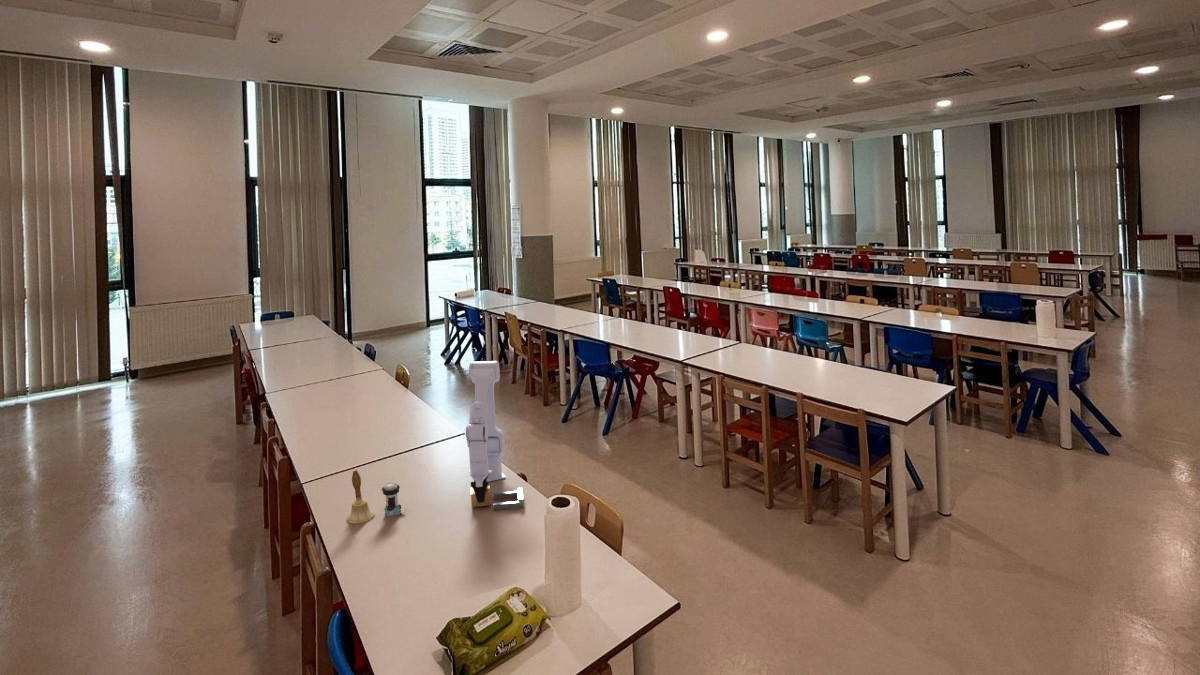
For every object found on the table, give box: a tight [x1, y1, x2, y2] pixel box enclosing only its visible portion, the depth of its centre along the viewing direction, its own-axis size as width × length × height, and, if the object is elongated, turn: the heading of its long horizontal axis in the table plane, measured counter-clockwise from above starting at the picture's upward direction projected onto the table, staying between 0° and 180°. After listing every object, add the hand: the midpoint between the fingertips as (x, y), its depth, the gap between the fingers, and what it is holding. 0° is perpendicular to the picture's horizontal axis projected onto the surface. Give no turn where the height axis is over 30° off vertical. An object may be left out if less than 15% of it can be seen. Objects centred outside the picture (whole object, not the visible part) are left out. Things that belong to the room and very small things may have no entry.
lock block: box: [470, 485, 492, 508], centre depth 198 cm, size 6×5×4 cm
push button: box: [381, 482, 406, 517], centre depth 193 cm, size 7×5×10 cm
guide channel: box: [493, 487, 524, 511], centre depth 199 cm, size 10×9×3 cm
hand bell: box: [346, 469, 375, 525], centre depth 190 cm, size 8×8×16 cm
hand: (481, 498), depth 198 cm, fingers closed on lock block, 5 cm apart
